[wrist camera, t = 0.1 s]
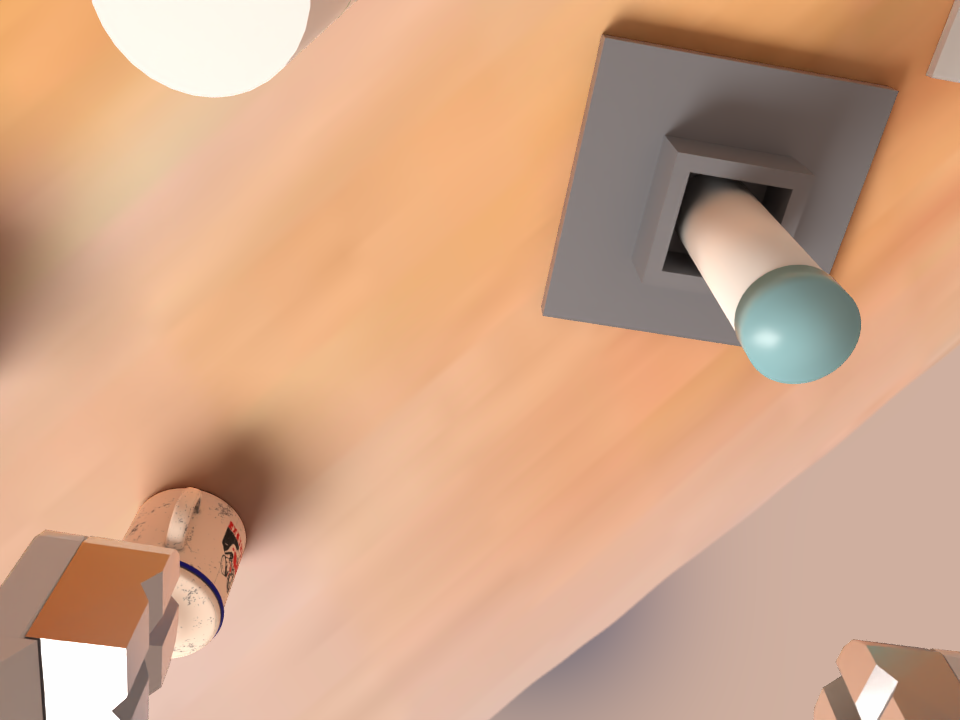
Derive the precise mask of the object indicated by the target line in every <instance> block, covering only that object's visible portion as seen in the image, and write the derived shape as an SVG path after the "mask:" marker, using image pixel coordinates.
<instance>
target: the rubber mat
mask: <svg viewBox="0 0 960 720" xmlns="http://www.w3.org/2000/svg"><path fill="white" fill-rule="evenodd" d="M926 76H929V77H931V78H936V79H942V80H947V81H952V82H958V83H960V0H955V1H954V4H953V6H952V9H951V11H950V14H949V17H948V19H947V22H946V24H945V27H944V29H943V32H942V35H941V37H940V40H939V42H938V45H937V47H936V50H935V53H934V55H933V58H932V60H931V63H930V65H929V68H928V71H927V73H926Z"/></svg>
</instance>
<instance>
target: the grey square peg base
mask: <svg viewBox="0 0 960 720" xmlns="http://www.w3.org/2000/svg"><path fill="white" fill-rule="evenodd" d="M898 92H899V91H897V90H895V89H893V88H891V87H889V86H884V85H879V84H873V83H868V82H862V81H857V80H851V79H846V78H840V77H835V76H829V75H824V74H818V73H813V72H807V71H802V70H796V69H791V68H785V67H780V66H774V65H769V64H763V63H758V62H752V61H747V60H741V59H736V58H731V57H725V56H720V55H714V54H709V53H703V52H698V51H692V50H687V49H681V48H676V47H670V46H665V45H659V44H654V43H648V42H643V41H637V40H632V39H626V38H621V37H615V36H610V35H604V34H602V36H601V40H600V45H599V49H598V54H597V58H596V63H595V67H594V72H593V76H592V81H591V85H590V90H589V94H588V99H587V103H586V108H585V112H584V117H583V121H582V126H581V130H580V135H579V139H578V144H577V148H576V153H575V157H574V162H573V166H572V171H571V175H570V180H569V184H568V189H567V193H566V198H565V202H564V207H563V211H562V216H561V220H560V225H559V229H558V234H557V238H556V243H555V247H554V252H553V256H552V261H551V265H550V270H549V274H548V279H547V283H546V288H545V292H544V297H543V301H542V306H541V308H542V314H543V316H547V317H554V318H560V319H567V320H573V321H580V322H586V323H593V324H599V325H606V326H612V327H619V328H625V329H632V330H638V331H644V332H651V333H657V334H664V335H670V336H677V337H683V338H690V339H696V340H703V341H709V342H716V343H722V344H729V345H735V346H741V344H740V342H739V341H738V339H737V336H736V333H735V330H734V328H733V327H732V325H731V323H730V322H729V320H728V318H727V317H726V315H725V313H724V312H723V310H722V308H721V307H720V305H719V303H718V302H717V300H716V298H715V297H714V295H713V293H712V292H711V290H710V288H709V287H708V285H707V283H706V282H705V280H704V278H703V277H702V275H701V273H700V272H699V270H698V268H697V266H696V265H695V263H694V261H693V260H692V258H691V256H690V255H689V253H688V251H687V250H686V248H685V246H684V245H683V243H682V241H681V240H680V238H679V236H678V235H677V233H676V231H675V229H674V227H675V223H676V220H677V216H678V213H679V209H680V206H681V202H682V199H683V195H684V192H685V188H686V185H687V181H688V180H690V179H691V178H693V177H695V176H697V175H699V174H704V175H710V176H716V177H722V178H728V179H734V180H740V182H741V183H742V184H743V185H744V186H745V187H746V188H747V189H748V190H749V191H750V192H751V193H752V194H753V195H754V197H755V198H756V199H757V200H758V201H759V202H760V203H761V204H762V205H763V206H764V207H765V208H766V209H767V211H768V212H769V213H770V214H771V215H772V216H773V217H774V218H775V219H776V220H777V221H778V222H779V224H780V225H781V226H782V227H783V228H784V229H785V230H786V231H787V232H788V233H789V234H790V235H791V236H792V238H793V239H794V240H795V241H796V242H797V243H798V244H799V245H800V246H801V247H802V248H803V249H804V250H805V252H806V253H807V254H808V255H809V256H810V257H811V258H812V259H813V260H814V261H815V262H816V263H817V264H818V266H819V267H820V268H821V269H822V270H823V271H825V272H826V273H828V274H830V271H831V269H832V266H833V263H834V261H835V258H836V255H837V253H838V250H839V247H840V245H841V242H842V240H843V237H844V234H845V232H846V229H847V226H848V224H849V221H850V218H851V216H852V213H853V210H854V208H855V205H856V203H857V200H858V197H859V195H860V192H861V189H862V187H863V184H864V181H865V179H866V176H867V173H868V171H869V168H870V166H871V163H872V160H873V158H874V155H875V152H876V150H877V147H878V144H879V142H880V139H881V136H882V134H883V131H884V129H885V126H886V123H887V121H888V118H889V115H890V113H891V110H892V107H893V105H894V102H895V99H896V97H897V94H898Z"/></svg>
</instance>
